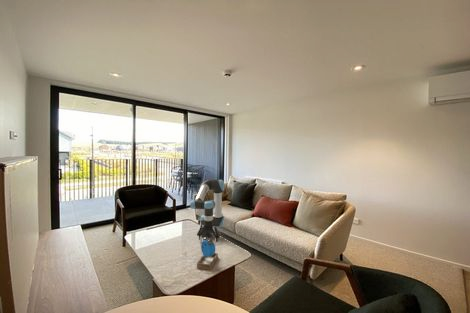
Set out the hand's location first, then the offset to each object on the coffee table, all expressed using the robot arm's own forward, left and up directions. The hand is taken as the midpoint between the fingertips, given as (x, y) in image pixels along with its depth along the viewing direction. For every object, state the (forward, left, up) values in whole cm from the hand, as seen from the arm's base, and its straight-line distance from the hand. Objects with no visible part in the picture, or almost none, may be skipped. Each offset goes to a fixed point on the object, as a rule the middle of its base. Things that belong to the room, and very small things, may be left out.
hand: (208, 244), depth 168 cm
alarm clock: (0, 0, -10) cm, 10 cm away
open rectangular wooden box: (0, 0, -15) cm, 15 cm away
